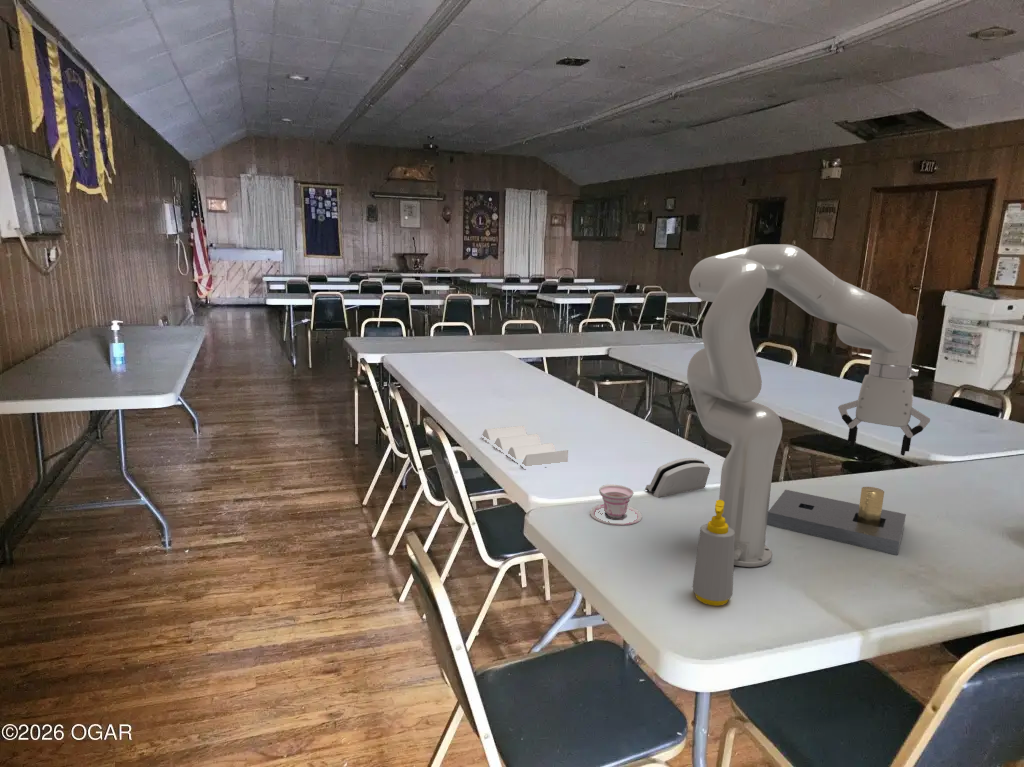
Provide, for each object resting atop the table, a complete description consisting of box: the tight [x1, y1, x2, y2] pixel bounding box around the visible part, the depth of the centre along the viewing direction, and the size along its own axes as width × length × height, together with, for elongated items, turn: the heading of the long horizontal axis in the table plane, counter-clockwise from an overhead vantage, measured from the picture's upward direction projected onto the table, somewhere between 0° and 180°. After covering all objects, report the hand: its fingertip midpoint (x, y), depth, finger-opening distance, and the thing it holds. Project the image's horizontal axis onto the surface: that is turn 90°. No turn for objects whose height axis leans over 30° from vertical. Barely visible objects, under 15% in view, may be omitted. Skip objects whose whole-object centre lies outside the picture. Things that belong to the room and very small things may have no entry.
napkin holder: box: [644, 457, 711, 498], centre depth 170 cm, size 17×5×10 cm, turn 119°
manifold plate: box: [767, 489, 907, 556], centre depth 151 cm, size 18×26×3 cm
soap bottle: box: [691, 499, 735, 607], centre depth 116 cm, size 7×7×18 cm
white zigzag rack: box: [481, 425, 569, 466], centre depth 202 cm, size 13×35×5 cm, turn 24°
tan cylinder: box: [857, 486, 885, 527], centre depth 146 cm, size 4×4×10 cm
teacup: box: [589, 484, 643, 526], centre depth 154 cm, size 12×12×6 cm
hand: (877, 449), depth 143 cm, fingers open, 9 cm apart
